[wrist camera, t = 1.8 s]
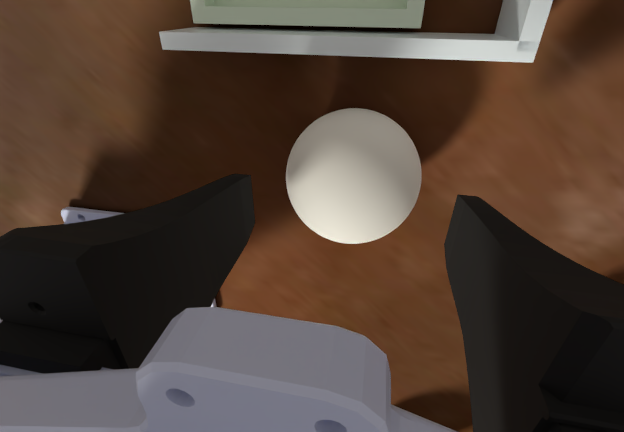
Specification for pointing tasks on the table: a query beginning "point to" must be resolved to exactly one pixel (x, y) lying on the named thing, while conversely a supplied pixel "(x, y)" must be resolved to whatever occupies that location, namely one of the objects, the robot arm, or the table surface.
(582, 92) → the table surface
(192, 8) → the resting spot
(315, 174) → the ball
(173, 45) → the acrylic walls
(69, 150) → the table surface
